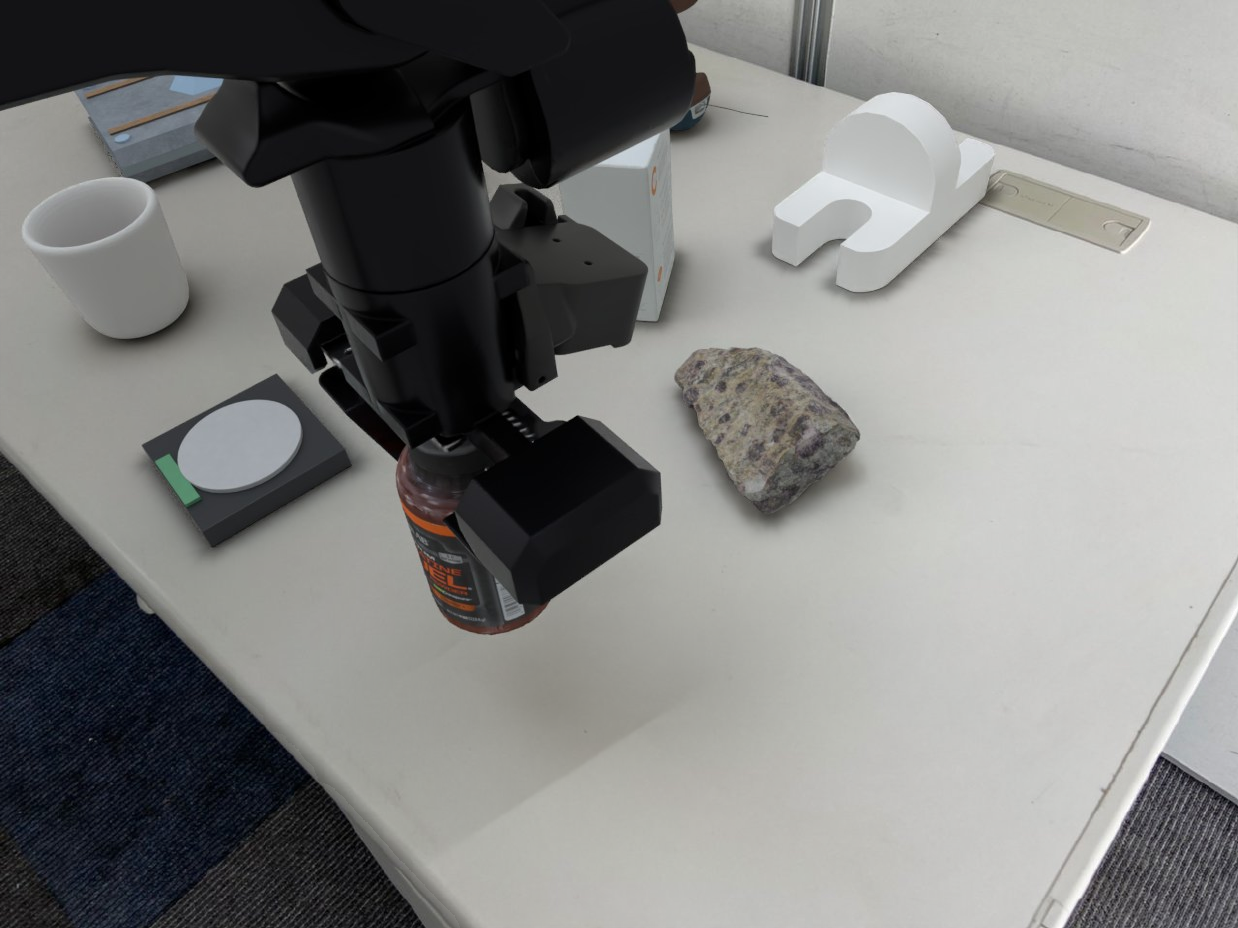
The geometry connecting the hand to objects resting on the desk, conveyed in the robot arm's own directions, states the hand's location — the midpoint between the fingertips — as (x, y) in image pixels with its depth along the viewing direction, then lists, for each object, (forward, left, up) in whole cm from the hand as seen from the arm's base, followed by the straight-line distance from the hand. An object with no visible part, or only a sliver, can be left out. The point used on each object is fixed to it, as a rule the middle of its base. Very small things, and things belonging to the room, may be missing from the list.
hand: (486, 534), depth 43 cm
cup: (-3, +48, -13) cm, 50 cm away
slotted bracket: (+46, +14, -13) cm, 49 cm away
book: (+14, +71, -13) cm, 74 cm away
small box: (+26, +22, -13) cm, 36 cm away
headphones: (+44, +38, -13) cm, 60 cm away
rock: (+21, +4, -13) cm, 25 cm away
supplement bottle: (0, 0, -4) cm, 4 cm away
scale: (-4, +26, -13) cm, 29 cm away
